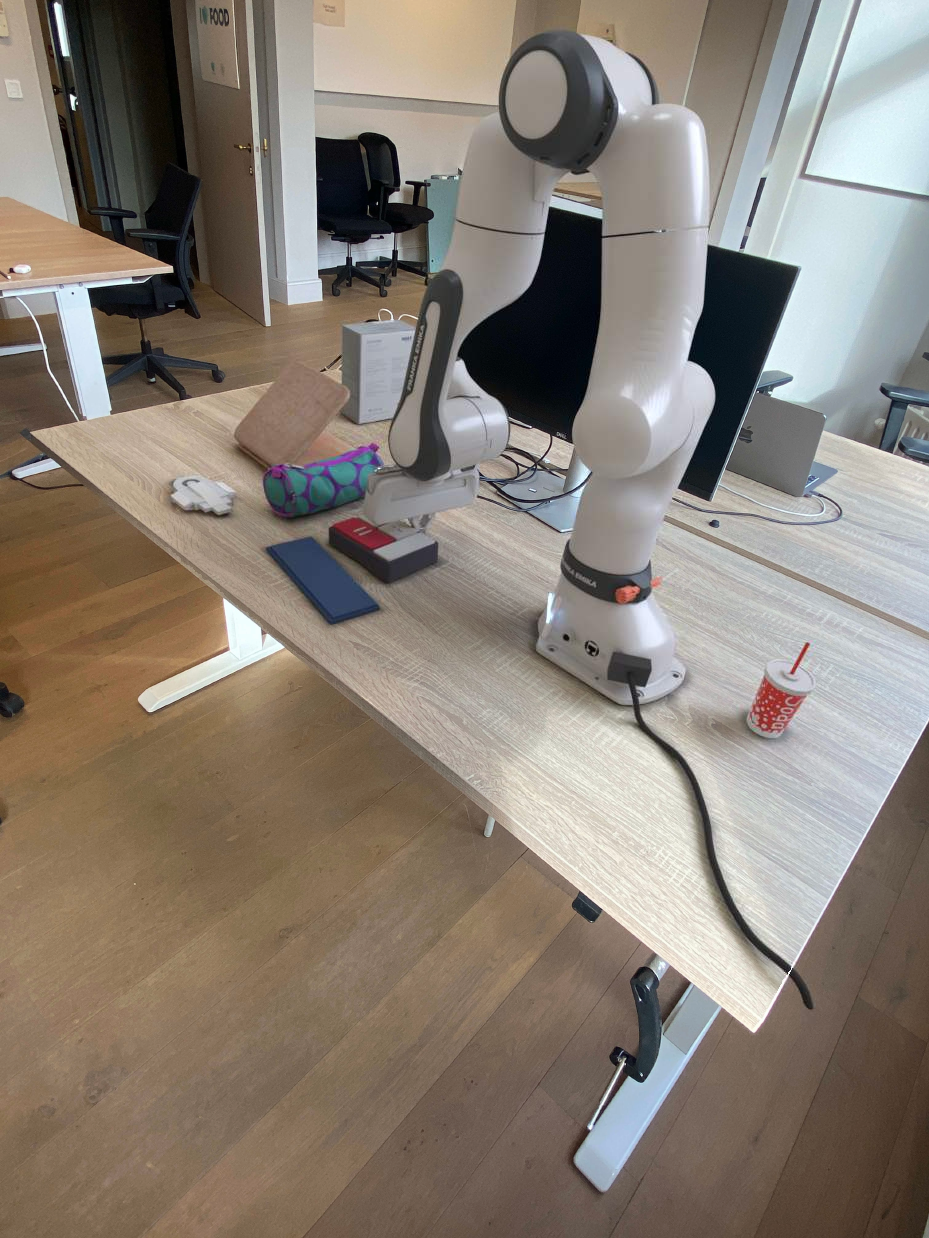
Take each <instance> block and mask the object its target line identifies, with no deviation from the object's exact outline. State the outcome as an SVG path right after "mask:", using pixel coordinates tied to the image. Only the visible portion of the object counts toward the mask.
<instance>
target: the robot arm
mask: <svg viewBox="0 0 929 1238" xmlns="http://www.w3.org/2000/svg"><path fill="white" fill-rule="evenodd" d="M706 136H707V135H706V130H705V126H704V123H703V121H702V120H701V118H700V116H699V115H698V114H697V113H696V112H694V111H693V110H692V109H690V108H688V107H686V106H683V105H681V104H676V103H660V94H659V88H658V85H657V83H656V79H655V78H654V76H653V74H652V72H651V71H650V69H649V68H648V66H647V65H646V64H645V63H644V62H643V61H642V60H641V59H640V58H639V57H637V56H636V55H634V54H633V53H630V52H628V51H624V50H622V49H620V48H618V47H617V46H615V44H613V43H612V42H611V41H609V40H607V39H604V38H600V37H597V36H594V35H589V34H584V33H583V34H582V33H577V32H575V31H574V30H571V29H566V28H565V29H564V28H563V29H562V28H561V29H550V30H546V31H543V32H540V33H537V34H535V35H533V36H531V37H529V38H527V39H526V40H525V41H524V42H522V43H521V44H520V45H519V46H518V47H517V48H516V50H515V51H514V52H513V53H512V55H511V56H510V58H509V60H508V62H507V63H506V66H505V67H504V70H503V73H502V76H501V80H500V83H499V90H498V111H496V112H493V113H491V114H489V115H487V116H485V117H484V118H483V119H481V120H480V121H479V122H478V123H477V124H476V126H475V127H474V128H473V131H472V133H471V136H470V140H469V144H468V147H467V151H466V155H465V158H464V161H463V167H462V170H461V171H462V172H461V176H460V181H459V186H458V191H457V196H456V197H457V199H456V206H455V211H454V212H455V213H454V222H453V228H452V233H451V236H450V237H451V238H450V241H449V245H448V248H447V251H446V254H445V257H444V258H443V261H442V264H441V265H440V268H439V270H438V271H437V273H436V274H435V275H434V276H433V277H432V278H431V279H430V280H429V282H428V284H427V287H426V289H425V292H424V294H423V297H422V301H421V304H420V308H419V312H418V316H417V320H416V325H415V327H416V329H415V334H414V339H413V343H412V348H411V353H410V357H409V362H408V367H407V371H406V376H405V381H404V385H403V390H402V394H401V398H400V401H399V404H398V407H397V409H396V411H395V414H394V416H393V418H391V422H390V425H389V430H388V435H387V436H388V437H387V444H388V450H389V453H390V456H391V458H392V460H393V462H394V463H392V464H388V465H384V466H379V467H377V468H376V470H374V471H373V472H371V473H370V474H369V475H368V478H367V490H366V494H365V496H364V501H363V508H362V511H363V514H365V516H366V517H367V518H368V519H369V520H370V521H371V522H372V523H374V524H375V525H381V524H386V523H391V522H395V521H404V520H407V521H408V523H409V524H410V526H411V527H413V528H415V529H417V531H418V532H420V533H422V534H424V535H426V536H428V532H429V527H430V526H431V524H432V523H433V521H434V520H435V518H436V514H437V513H441V512H445V511H449V510H454V509H458V508H463V507H467V506H471V505H473V504H474V503H475V502H476V500H477V498H478V494H479V487H480V472H479V470H478V469H479V468H480V466H481V464H482V463H485V462H489V461H492V460H494V459H496V458H499V457H500V456H502V455H503V454H504V452H505V451H506V449H507V447H508V445H509V443H510V438H511V420H510V416H509V413H508V411H507V408H506V407H505V405H504V404H503V403H502V402H501V401H500V400H499V399H498V398H496V397H495V396H493V395H490V394H488V393H487V392H486V391H484V389H482V388H481V387H480V386H479V385H478V384H477V383H476V381H475V380H474V379H473V378H472V377H471V376H470V374H469V371H468V370H467V367H466V364H465V361H464V360H463V359H462V358H461V357H459V356H458V353H459V350H460V348H461V346H462V344H463V342H464V340H466V338H467V337H468V335H469V334H470V333H471V332H472V331H473V329H475V328H476V327H477V326H478V325H479V324H480V323H482V322H483V321H484V320H486V319H487V318H488V317H490V316H492V315H493V314H495V313H497V312H498V311H500V310H502V309H504V308H506V307H507V306H509V305H511V304H512V303H514V302H515V301H517V300H518V299H519V298H520V297H521V296H522V295H523V294H524V293H525V292H526V291H527V290H528V289H529V288H530V286H531V285H532V283H533V280H534V278H535V276H536V273H537V270H538V267H539V265H540V261H541V257H542V251H543V246H544V240H545V232H546V228H547V220H548V215H549V209H550V204H551V200H552V197H553V193H554V191H555V189H556V186H557V184H558V183H559V182H560V180H561V179H562V178H563V177H565V176H566V175H567V174H569V173H571V174H572V175H574V176H580V175H584V174H589V173H591V174H592V175H593V177H594V178H595V179H596V181H597V184H598V186H599V191H600V194H601V195H600V196H601V207H602V210H601V211H602V212H601V214H602V216H601V217H602V218H601V222H602V223H601V236H602V238H601V291H600V292H601V294H600V295H601V296H600V297H601V298H600V316H599V317H600V318H599V325H598V330H597V331H598V332H597V337H596V343H595V348H594V352H593V358H592V363H591V368H590V373H589V378H588V383H587V388H586V392H585V395H584V397H583V401H582V403H581V405H580V407H579V409H578V411H577V412H576V415H575V418H574V420H573V425H572V430H571V438H572V444H573V448H574V451H575V453H576V455H577V457H578V459H579V460H580V462H581V463H582V464H583V465H584V467H585V468H586V469H588V470H589V471H590V472H591V473H592V474H591V476H590V478H589V479H588V481H587V482H586V484H585V485H584V487H583V489H582V491H581V494H580V496H579V497H580V498H579V502H578V505H577V510H576V514H575V518H574V522H573V526H572V530H571V535H570V538H569V539H567V541H566V543H565V545H564V550H563V553H562V556H561V560H560V566H559V568H560V574H559V578H558V580H557V583H556V586H555V587H554V590H553V593H549V594H548V599H547V604H546V605H547V606H546V607H545V609H544V611H543V613H542V614H541V615H540V617H539V618H538V621H537V632H538V639H537V642H536V644H535V650H536V652H537V653H538V654H539V655H540V656H543V657H544V658H546V659H547V660H549V661H550V662H552V663H554V664H555V665H557V666H558V667H560V668H561V669H563V670H564V671H565V672H567V673H569V674H571V675H572V676H574V677H575V678H577V679H579V680H580V681H581V682H583V683H585V684H586V685H588V686H590V687H591V688H593V690H595V691H597V692H599V693H600V694H602V695H603V696H605V697H607V698H608V699H610V700H612V701H613V702H615V703H617V704H618V705H623V706H633V714H634V718H635V721H636V722H637V725H638V726H639V728H640V729H641V730H642V731H643V732H644V733H645V734H646V735H647V736H648V737H649V738H650V739H651V740H653V742H655V743H656V744H658V746H660V747H661V748H662V749H664V750H665V751H666V752H668V753H669V754H670V755H671V756H672V757H673V758H674V759H675V760H676V762H677V763H679V765H680V767H681V768H682V770H683V772H684V773H685V774H686V777H687V778H688V781H689V783H690V785H691V787H692V791H693V794H694V796H695V800H696V803H697V806H698V809H699V812H700V816H701V819H702V820H701V821H702V825H703V826H702V827H703V832H704V842H705V849H706V852H707V858H708V861H709V864H710V868H711V871H712V874H713V877H714V879H715V882H716V884H717V888H718V890H719V892H720V895H721V897H722V899H723V901H724V903H725V905H726V907H727V909H728V911H729V913H730V914H731V917H732V918H733V919H734V921H735V924H736V925H737V926H738V927H739V929H740V931H741V932H742V933H743V935H744V936H745V938H747V940H748V941H749V943H751V944H752V946H753V947H755V949H757V950H758V951H759V952H760V953H761V954H763V956H764V957H766V958H767V959H769V960H770V961H771V962H772V963H773V964H775V965H776V967H778V968H779V969H781V970H782V971H783V972H784V973H785V974H786V975H787V976H788V972H789V971H790V970H791V967H793V966H792V965H791V964H790V963H788V961H786V960H785V959H784V958H782V957H781V956H780V955H778V953H776V952H775V951H774V950H772V949H771V948H770V947H769V946H767V945H766V944H765V943H764V942H763V941H762V940H760V938H759V937H758V936H757V935H756V934H755V933H754V931H753V930H752V929H751V927H750V926H749V925H748V923H747V922H746V920H745V919H744V917H743V916H742V914H741V912H740V910H739V909H738V907H737V905H736V903H735V902H734V900H733V897H732V896H731V893H730V891H729V888H728V886H727V883H726V881H725V878H724V876H723V873H722V870H721V868H720V865H719V862H718V859H717V855H716V851H715V845H714V839H713V832H712V831H713V830H712V824H711V819H710V814H709V811H708V809H707V808H708V807H707V804H706V802H705V799H704V796H703V792H702V790H701V787H700V784H699V782H698V779H697V777H696V776H695V775H696V774H695V773H694V772H693V770H692V768H691V767H690V765H689V763H688V762H687V760H686V759H685V758H684V757H683V755H682V754H681V753H680V752H679V751H678V750H677V749H676V748H675V747H673V746H672V745H670V744H669V743H667V742H666V741H665V740H663V739H662V738H661V737H659V736H658V735H656V733H654V732H653V730H651V729H650V728H649V726H648V725H647V724H646V722H645V721H644V718H643V717H642V716H643V715H642V713H641V705H644V704H648V703H652V702H654V701H657V700H659V699H661V698H664V697H665V696H667V695H669V694H671V693H673V692H674V691H675V690H677V688H679V687H680V686H681V684H682V683H683V681H684V678H685V675H686V672H687V668H686V667H685V665H684V664H683V663H682V662H681V661H680V660H679V659H678V658H677V657H676V655H675V654H676V648H677V636H676V633H675V632H676V631H675V630H674V629H673V627H672V625H671V624H670V622H669V621H668V618H667V614H666V613H665V612H664V611H663V610H662V608H661V606H660V603H658V601H657V599H656V597H655V595H654V593H653V592H652V591H653V589H654V588H655V587H658V586H659V585H661V581H662V579H663V576H659V577H656V578H654V579H653V573H652V561H651V558H652V557H651V556H652V554H653V552H654V549H655V546H656V542H657V539H658V537H659V533H660V530H661V527H662V525H663V522H664V518H665V515H666V513H667V511H668V509H669V506H670V504H671V502H672V499H673V497H674V495H675V494H676V491H677V489H678V488H679V486H680V483H681V482H682V479H683V477H684V475H685V474H686V470H687V468H688V466H689V464H690V461H691V459H692V457H693V455H694V453H695V450H696V448H697V446H698V443H699V441H700V439H701V436H702V434H703V431H704V429H705V427H706V425H707V422H708V421H709V419H710V417H711V415H712V412H713V409H714V406H715V403H716V389H715V384H714V383H713V380H712V378H711V376H710V374H709V373H708V371H706V369H705V368H703V367H702V366H701V365H699V364H698V363H696V362H693V361H690V360H689V354H690V351H691V347H692V342H693V339H694V335H695V332H696V331H695V330H696V328H697V325H698V322H699V321H700V317H701V315H702V313H703V308H704V303H705V302H704V301H705V287H706V274H707V273H706V272H707V259H708V258H707V256H708V244H709V243H708V241H709V227H708V226H709V225H710V193H711V192H710V191H711V190H710V189H711V188H710V167H709V154H708V144H707V137H706ZM706 226H707V227H706ZM697 227H699V228H697ZM700 227H701V228H700ZM687 228H688V229H687ZM689 228H690V229H689ZM678 229H679V230H678ZM668 230H669V231H668ZM649 232H650V233H649ZM639 233H640V234H639ZM628 234H629V235H628ZM617 235H619V236H617ZM606 236H607V237H606ZM608 236H609V237H608ZM421 516H422V517H421ZM788 977H789V978H790V980H791V981H792V982H793V983H794V985H795V986H796V988H797V990H798V992H799V994H800V996H801V999H802V1003H803V1005H804V1006H805V1008H806V1009H807V1010H809V1011H813V1010H814V1003H813V998H812V996H811V992H810V990H809V988H808V986H807V984H806V982H805V980H804V979H803V977H802V976H801V975H800V974H799V972H798V971H796V969H795V968H794V967H793V968H792V970H791V972H790V974H789V976H788Z"/></svg>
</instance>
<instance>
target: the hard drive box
mask: <svg viewBox="0 0 929 1238" xmlns="http://www.w3.org/2000/svg"><path fill="white" fill-rule="evenodd" d="M415 329H416V326H414V325H412V324H409V323H407V322H405V321H403V320H401V319H389V320H377V321H369V322H357V323H348V324H341V384H342V385H344V386H345V387H347V388H348V389H349V391H350V398H349V400H348V402H347V403H346V404H345V406H344V407H343V408H342V409H341V414H342V415H343V416H345V417H346V418H348V419H349V420H351V421H352V422H354V423H355V424H357V425H362V424H367V423H375V422H378V421H379V422H380V421H383V420H384V421H385V420H389V419H391V420H392V419H393V416H394V414H395V411H396V409H397V407H398V404H399V401H400V398H401V394H402V390H403V385H404V381H405V376H406V371H407V367H408V362H409V357H410V353H411V348H412V343H413V339H414V334H415Z"/></svg>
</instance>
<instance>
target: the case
mask: <svg viewBox="0 0 929 1238" xmlns="http://www.w3.org/2000/svg"><path fill="white" fill-rule="evenodd" d="M349 398H350V391H349V389H348V388H347V387H345V386H344V385H342V383H341V382H338V381H336V380H335V379H334V378H332V377H330V376H328V375H327V374H325V373H324V372H321V371H320V370H317V369H315V368H313V367H311V366H310V365H308V364H305V363H304V362H301V361H297V360H296V361H292V362H290V363H289V364H288V365H286V367H285V368H284V369H283V370H282V372H281V373H280V374H279V375H278V377H276V379H275V380H274V382H273V383H272V384H271V385H270V386H269V387H268V388H267V390H266V391H265V392H264V393H263V394H262V396H260V398H259V399H258V401H256V403H255V404H254V406H252V408H251V409H250V410H249V411H248V413H247V414H246V415H245V416H244V418H243V419H242V420H241V421H240V423H238V425H237V426H236V427H235V430H234V431H233V437H234V439H235V441H236V442H238V444H237V446H238V448H239V449H240V450H241V451H242V452H243V453H245V454H247V455H248V456H249V457H251V458H252V459H253V460H255V461H256V462H258V463H259V464H260V465H261V466H263V467H264V468H266V469H267V470H268V469H270V468H271V467H273V466H274V465H276V464H285V463H290V464H293V465H299V466H304V465H309V464H311V463H314V462H317V461H321V460H324V459H328V458H332V457H335V456H338V455H342V454H344V453H346V452H348V451H352V450H356V449H357V448H358V447H356V446H355V445H353V444H351V442H349V441H347V440H345V439H344V438H342V437H340V436H338V435H336V434H335V433H334V432H331V431H330V430H328V429H326V428H327V427H328V425H329V424H330V423H331V422H332V421H333V419H335V417H336V416H337V415H338V414H339V413H340V411H342V408H343V407H344V406H345V404H346V403H347V402H348V400H349ZM288 465H289V464H288Z"/></svg>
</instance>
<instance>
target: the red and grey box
mask: <svg viewBox="0 0 929 1238" xmlns="http://www.w3.org/2000/svg"><path fill="white" fill-rule="evenodd" d="M328 544H329V545H330V546H331V547H333V548H336V549H337V550H339V551H340V552H342V553H344V554H345V555H347V556H349V557H350V558H352V559H353V560H355V561H357V562H358V563H360V564H361V565H364V567H366V568H367V569H369V571H370V572H371V574H372V575H374V576H376V577H377V578H379V579H381V580H382V581H384V582H385V583H388V584H389V583H392V582H394V581H397V580H399V579H401V578H405V577H406V576H408V575H411V574H413V573H415V572H418V571H420V570H422V569H424V568H427V567H429V566H431V565H434V564H436V563H437V562H438V556H439V555H438V554H439V542H438V541H437V540H435V539H433V538H431V536H428V535H424V534H422V533H420V532H418V531H417V529H415V528H413V527H411V525H409V524H407V523H406V522H404V521H403V520H400V521H395V522H391V523H386V524H381V525H375V524H374V523H372V522H371V521H370V520H369V519H368V518H367V517H366V516H365V514H364V513H362V514H359V515H357V517H349V518H348V519H345V520H344V519H343V520H341V521H339V522H336V523H333V524H332V526H331V525H330V526H329V527H328Z"/></svg>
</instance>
